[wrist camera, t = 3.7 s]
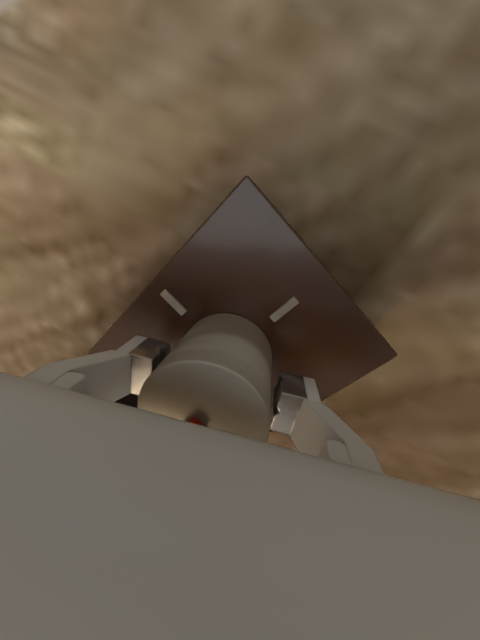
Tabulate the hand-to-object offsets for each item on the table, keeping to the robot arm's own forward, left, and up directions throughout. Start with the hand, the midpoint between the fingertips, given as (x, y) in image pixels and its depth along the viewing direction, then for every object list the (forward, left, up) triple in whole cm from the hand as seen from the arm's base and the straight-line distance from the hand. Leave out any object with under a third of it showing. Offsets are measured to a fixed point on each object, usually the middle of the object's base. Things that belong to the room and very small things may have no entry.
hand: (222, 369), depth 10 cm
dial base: (0, 0, -4) cm, 4 cm away
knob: (0, 0, -1) cm, 1 cm away
